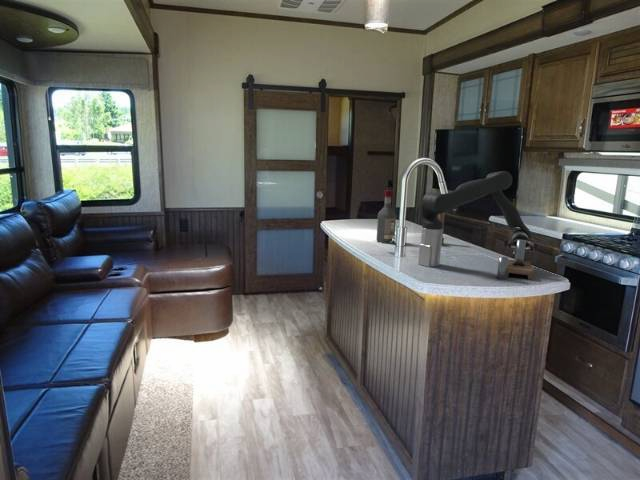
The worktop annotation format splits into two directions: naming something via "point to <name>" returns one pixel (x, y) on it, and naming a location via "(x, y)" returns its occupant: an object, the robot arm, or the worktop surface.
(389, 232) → the liquor
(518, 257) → the long pin
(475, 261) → the worktop surface
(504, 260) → the short pin
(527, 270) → the plate
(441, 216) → the wooden block
